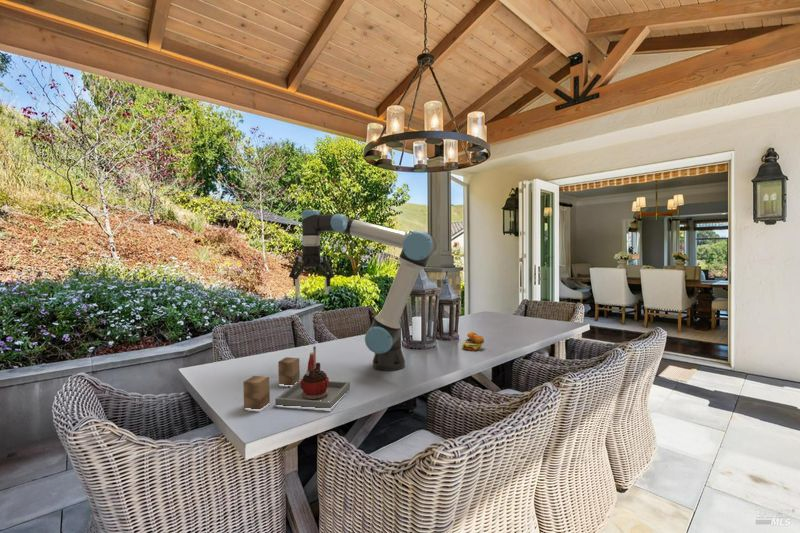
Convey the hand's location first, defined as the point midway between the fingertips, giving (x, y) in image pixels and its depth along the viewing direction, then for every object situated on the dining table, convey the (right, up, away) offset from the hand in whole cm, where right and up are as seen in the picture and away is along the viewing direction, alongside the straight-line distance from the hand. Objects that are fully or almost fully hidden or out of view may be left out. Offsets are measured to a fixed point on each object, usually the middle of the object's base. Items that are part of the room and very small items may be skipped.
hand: (312, 293), depth 168 cm
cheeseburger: (+78, -33, +37) cm, 92 cm away
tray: (+8, -36, -29) cm, 47 cm away
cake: (+8, -35, -29) cm, 46 cm away
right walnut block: (-6, -35, -15) cm, 39 cm away
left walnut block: (-10, -36, -37) cm, 53 cm away
